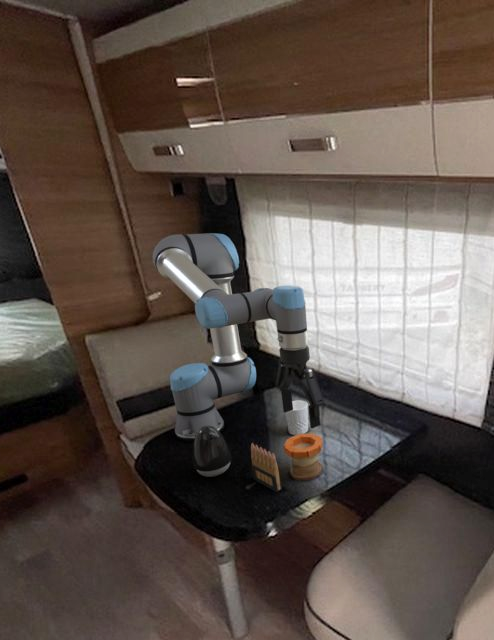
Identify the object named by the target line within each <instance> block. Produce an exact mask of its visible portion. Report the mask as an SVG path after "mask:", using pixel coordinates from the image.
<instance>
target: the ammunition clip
mask: <svg viewBox="0 0 494 640" xmlns="http://www.w3.org/2000/svg"><path fill="white" fill-rule="evenodd" d="M250 454H251V455H250V456H251V457H250V458H251V464H250V466H251V474H252V479H253V480H254V481H256V482H258V483H260V484H261V485H263V486H265V487H266V488H268V489H271V490H272V491H274V492H276V493H277V492H278V493H279V491H281V490H283V484H282V478H281V477H282V476H281V473H280V472H279V466H278V464H277V462H278V461H277V458H276V455H275V453H274V452H272V453H271V452H270V450H268V451H267V449H266V448H262V447H261V446H258V445H257V444H254V443H253V442H251V445H250Z"/></svg>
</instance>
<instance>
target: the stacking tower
mask: <svg viewBox="0 0 494 640" xmlns="http://www.w3.org/2000/svg"><path fill="white" fill-rule="evenodd" d="M313 445H314V444H312V443H300V444H298V445H295V446H294V447H295V448H296V449H306V448H308V447H310V446H313ZM318 454H319V453H318ZM318 454H316V455H314V456H312V457H307V458H294V457H292V458H291V460H290V461H291V467H290V469H289V474H290V476H291V478H292V479H294V480H296V481H303V482H304V481H310V480H313V479H316V478H317V477H319V476H320V475H321V473H322V471H323V466H322V464H321V463H320V458H319V455H318Z"/></svg>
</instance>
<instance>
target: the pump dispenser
mask: <svg viewBox="0 0 494 640" xmlns="http://www.w3.org/2000/svg"><path fill="white" fill-rule="evenodd" d="M192 445H193V446H192V465H193V468H194V469H195V470H196V471H197V473H198V474H199V475H201V476H203V477H207V478H214V477H218V476H220V475H222V474H224V473H226V471H227V470H228V469H229V467H230V465H231V462H232V453H231V450H230V447H229V445H228V443H227V441H226V439H225V437H224V436H223V435H222V432H219V431H218V430H217V429H216V428H215V427H213V426H209V425H208V426H203V427H201V428H200V429H199V430H198V432H197V433H196V436H195V439H194V441H193V444H192Z"/></svg>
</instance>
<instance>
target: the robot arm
mask: <svg viewBox="0 0 494 640" xmlns="http://www.w3.org/2000/svg"><path fill="white" fill-rule="evenodd" d="M237 251H238V250H237V248H236V245H235V244H234V242H233V241H232V240H231V238H230V237H229V236H227V235H225V234H223V233H212V232H209V233H208V232H207V233H187V234H181V233H179V234H171V235H168V236H166V237H164V238H162V239H161V240H160V241H159V242H158V243H157V244H156V245H155V247H154V249H153V252H152V264H153V266H154V268H155V269H156V271H157V273H159V274H160V275H161V276H162V277H163V278H165V279H167V280H169V281H171V282H173V283H174V285H176V286H177V287H178V288H179V289H180V291H182V292H183V294H184V295H186V296H187V298H189V299H190V300H191V302H193V304H194V310H195V311H194V312H195V316H196V318H197V320H198V322H199V324H200V326H202V327H203V328H204V329H209V330H210V331H209V332H210V336H211V341H212V346H213V352H214V354H213V355H212V357H211V358H210V363H211V364H210V365H207V364H206V363H203V362H196V363H188V364H185V365H182V366H180V367H178V368H176V369H175V370H173V372H171V373H170V376H169V383H170V391H171V393H172V396H173V400H174V401H173V402H174V405H175V410H176V423H175V428H174V433H175V437H176V439H178V440H180V441H184V442H194V439H195V436H196V433H197V432H198V430H199V429H200V428H201V427H203V426H208V425H209V426H213V427H215V428H216V429H217V430H218V431H219V432H220V433H222V432H223V431H224V429H225V422H224V421H225V420H224V419H223V418H222V416H221V415H220V413H219V411H218V409H217V407H216V404H215V400H217V399H221V398H225V397H228V396H232V395H236V394H241V393H244V392H245V391H248V390H251V389H252V388H253V387H254V386H255V384H256V381H257V369H256V366H255V363H254V361H253V360H252V358H251V357H248V354H247V353H246V352H244V351H243V350H242V346H241V340H240V335H239V333H240V332H239V328H238V325H240V324H246V323H253V322H258V321H264V320H273V321H275V325H276V332H277V338H276V339H277V341H278V346H279V347H280V348H279V359H278V370H277V374H276V380H275V386H276V387H277V388H278V389H279V391H280V394H281V401H282V410H283V413H284V414H285V413H286V412H288V411H291V410H293V403H292V401H293V396H292V389H291V388H292V387H291V384H292V383H293V381H295V382H297V385H298V386H300V388H301V389H302V391H303V393H304V395H305V398H306V400H307V401H308V419H309V428H310V429H315V428H316V427H319V426H321V417H320V416H321V412H320V407H321V406H323V405H325V400H324V397H323V394H322V391H321V388H320V386H319V383H318V380H317V377H316V372H315V368H308V366H307V363H308V361H309V360H310V359H311V357H310V347H309V342H310V341H309V334H308V322H307V310H306V309H307V308H306V300H305V292H304V289H303V288H302V287H301V286H299V285H280V286H276V287H274V288H273V289H272V288H270V287H259V288H256V289H254V290H253V291H248V292H239V293H233V291H232V285H231V281H232V280H233V279H234V278H235V273H234V272H235V271H237V270H238V269H239V267H240V266H239V264H240V259H239V254H238V252H237Z"/></svg>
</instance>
